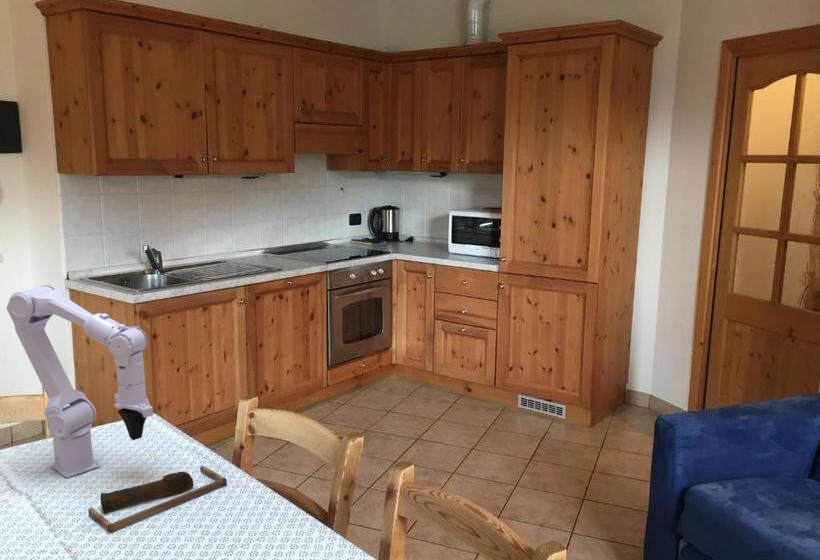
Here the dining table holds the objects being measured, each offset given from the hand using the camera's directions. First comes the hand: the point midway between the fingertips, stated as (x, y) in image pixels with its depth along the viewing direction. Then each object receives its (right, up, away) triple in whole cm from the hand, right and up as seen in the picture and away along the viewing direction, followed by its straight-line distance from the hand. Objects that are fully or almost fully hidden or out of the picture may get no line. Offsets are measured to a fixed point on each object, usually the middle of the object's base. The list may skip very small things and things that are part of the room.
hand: (136, 438), depth 156 cm
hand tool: (+6, -12, -8) cm, 15 cm away
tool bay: (+9, -11, -9) cm, 17 cm away
